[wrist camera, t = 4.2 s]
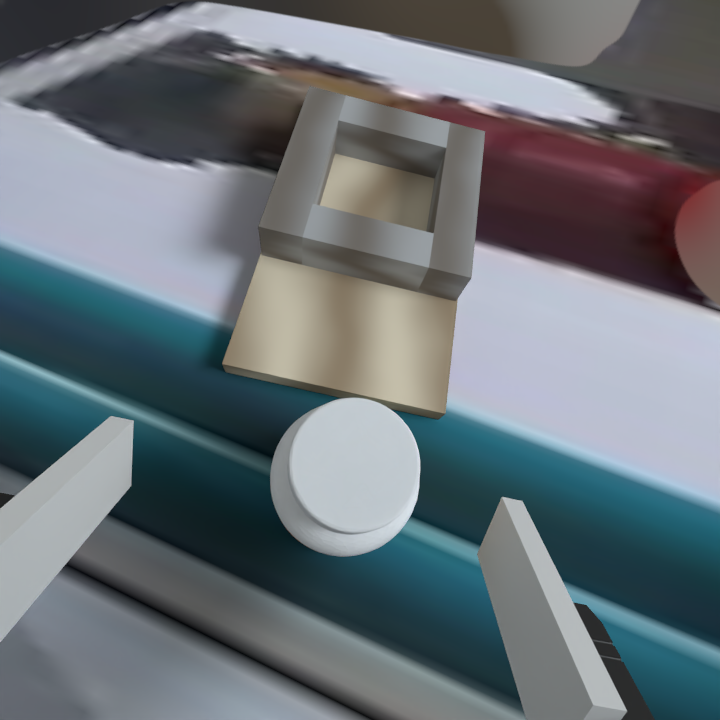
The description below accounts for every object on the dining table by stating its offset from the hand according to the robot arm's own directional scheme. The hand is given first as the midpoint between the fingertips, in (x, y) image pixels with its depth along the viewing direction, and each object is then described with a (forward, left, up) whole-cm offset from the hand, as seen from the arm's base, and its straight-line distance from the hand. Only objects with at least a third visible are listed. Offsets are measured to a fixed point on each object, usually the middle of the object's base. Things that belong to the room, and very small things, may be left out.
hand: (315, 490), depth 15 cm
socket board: (0, -17, -7) cm, 18 cm away
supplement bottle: (-1, -1, -7) cm, 7 cm away
